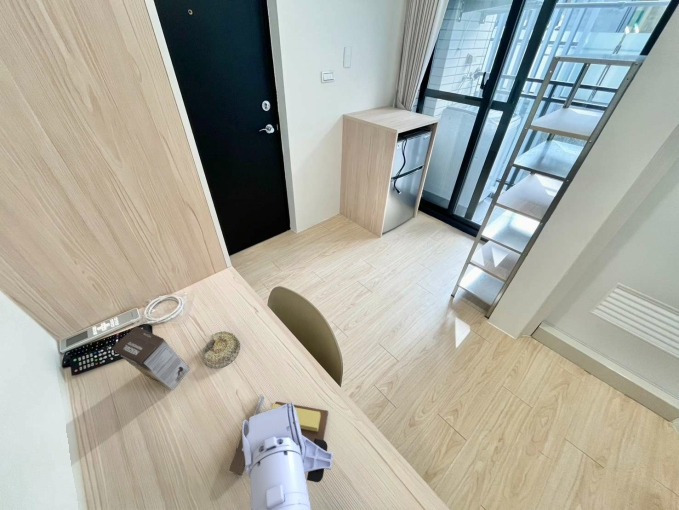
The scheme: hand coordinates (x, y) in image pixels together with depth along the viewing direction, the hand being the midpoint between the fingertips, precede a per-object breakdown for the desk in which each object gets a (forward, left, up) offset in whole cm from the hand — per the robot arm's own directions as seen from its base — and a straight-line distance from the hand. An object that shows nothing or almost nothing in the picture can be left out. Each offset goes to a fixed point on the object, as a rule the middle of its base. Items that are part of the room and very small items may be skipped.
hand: (293, 459), depth 50 cm
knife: (+4, +12, -10) cm, 17 cm away
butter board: (+7, +2, -10) cm, 13 cm away
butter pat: (+9, +8, -9) cm, 15 cm away
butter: (+9, 0, -9) cm, 13 cm away
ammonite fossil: (+22, +28, -11) cm, 38 cm away
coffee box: (+14, +39, -11) cm, 43 cm away
